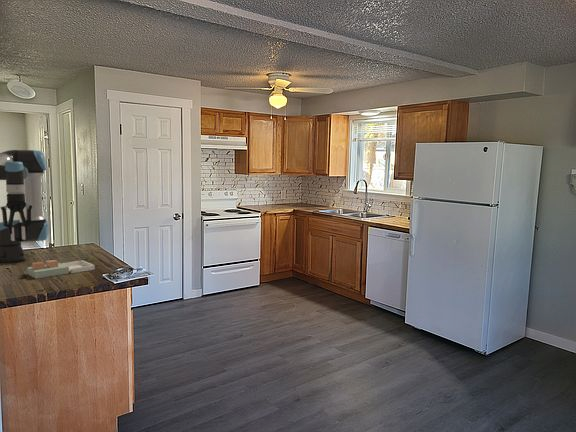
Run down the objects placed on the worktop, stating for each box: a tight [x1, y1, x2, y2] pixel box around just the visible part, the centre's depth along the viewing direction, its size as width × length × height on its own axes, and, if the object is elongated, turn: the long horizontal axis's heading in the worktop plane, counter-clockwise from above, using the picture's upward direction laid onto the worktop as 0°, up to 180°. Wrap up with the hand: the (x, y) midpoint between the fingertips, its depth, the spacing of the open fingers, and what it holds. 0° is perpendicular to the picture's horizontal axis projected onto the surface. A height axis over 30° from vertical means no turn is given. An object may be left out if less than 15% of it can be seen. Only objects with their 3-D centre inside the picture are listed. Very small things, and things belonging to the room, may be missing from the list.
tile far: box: [45, 259, 59, 268], centre depth 229 cm, size 4×4×3 cm
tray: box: [60, 259, 96, 275], centre depth 239 cm, size 16×13×2 cm
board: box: [26, 262, 70, 280], centre depth 228 cm, size 13×16×4 cm
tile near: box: [31, 261, 46, 270], centre depth 225 cm, size 4×4×3 cm
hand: (18, 239), depth 216 cm, fingers open, 4 cm apart
